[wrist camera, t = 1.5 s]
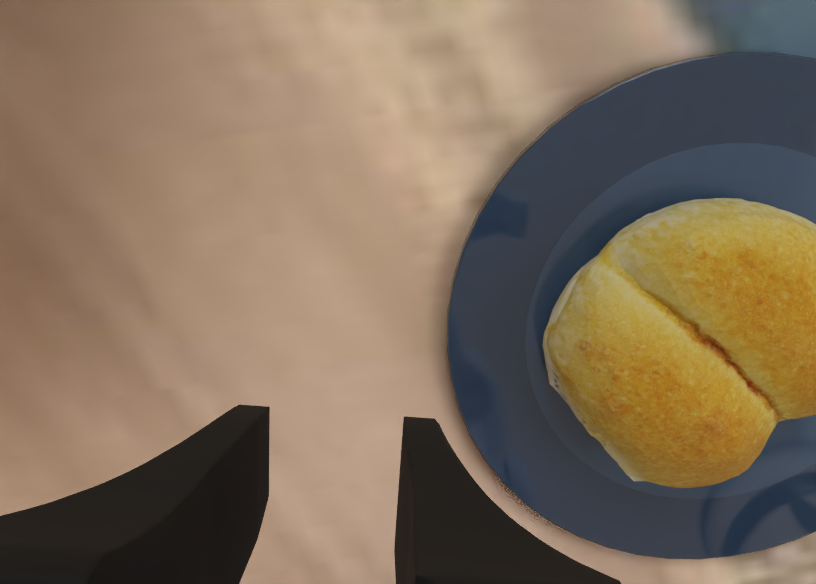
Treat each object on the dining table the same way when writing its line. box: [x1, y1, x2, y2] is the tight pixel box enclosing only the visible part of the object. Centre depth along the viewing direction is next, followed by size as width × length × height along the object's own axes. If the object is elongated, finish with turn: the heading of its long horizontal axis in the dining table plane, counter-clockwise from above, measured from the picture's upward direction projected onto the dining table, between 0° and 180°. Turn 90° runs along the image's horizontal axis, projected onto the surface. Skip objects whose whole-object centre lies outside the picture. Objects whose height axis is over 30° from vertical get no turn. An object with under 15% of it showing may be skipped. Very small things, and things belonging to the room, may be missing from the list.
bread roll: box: [542, 198, 816, 488], centre depth 21 cm, size 8×9×4 cm
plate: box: [447, 53, 816, 559], centre depth 23 cm, size 17×17×1 cm
